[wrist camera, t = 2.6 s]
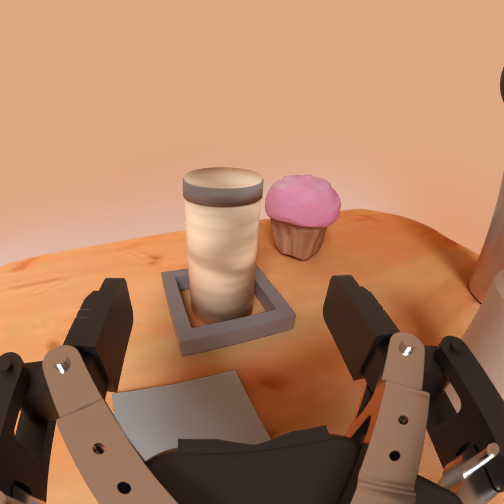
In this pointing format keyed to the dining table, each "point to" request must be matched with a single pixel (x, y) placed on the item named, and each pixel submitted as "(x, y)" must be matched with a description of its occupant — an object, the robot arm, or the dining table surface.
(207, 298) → the beige tall cylinder
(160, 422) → the mat
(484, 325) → the beverage can
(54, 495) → the dining table surface
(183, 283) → the socket collar
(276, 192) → the cupcake
